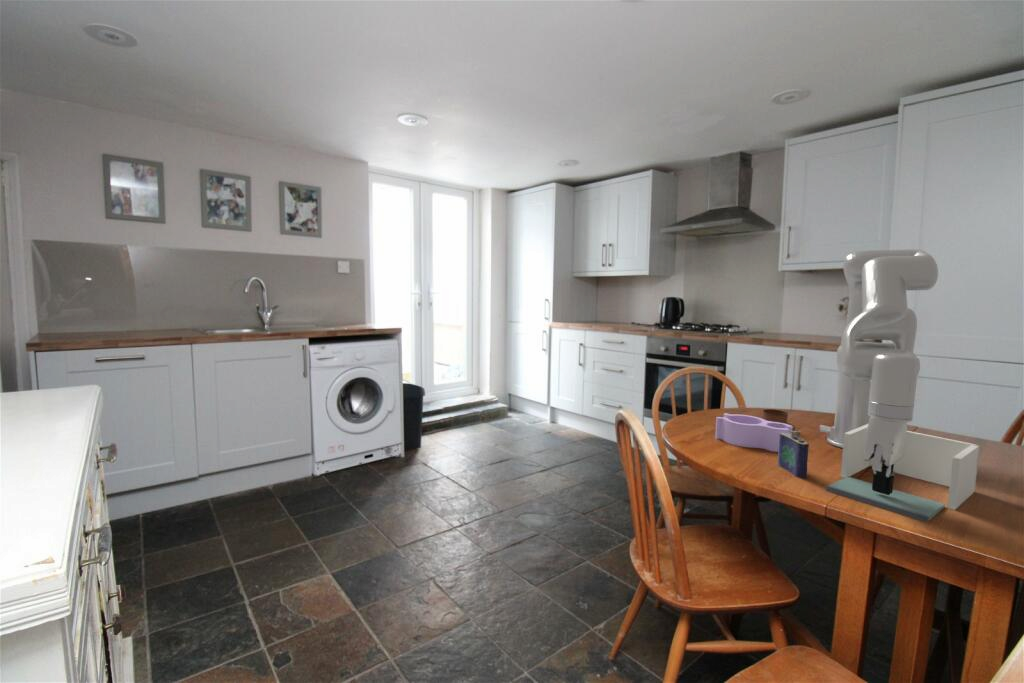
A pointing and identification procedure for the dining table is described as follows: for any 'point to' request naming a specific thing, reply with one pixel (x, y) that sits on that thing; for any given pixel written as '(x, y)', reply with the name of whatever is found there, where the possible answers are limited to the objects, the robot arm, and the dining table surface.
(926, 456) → the teal front storage box
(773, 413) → the cup and saucer
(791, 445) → the flask
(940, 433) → the dining table surface
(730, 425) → the purple cup holder
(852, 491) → the panel
